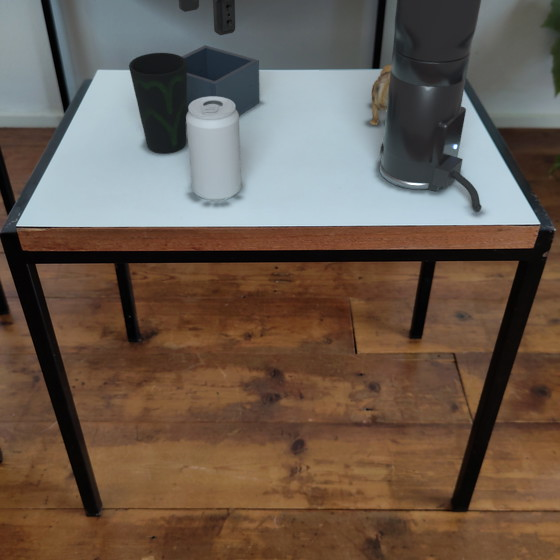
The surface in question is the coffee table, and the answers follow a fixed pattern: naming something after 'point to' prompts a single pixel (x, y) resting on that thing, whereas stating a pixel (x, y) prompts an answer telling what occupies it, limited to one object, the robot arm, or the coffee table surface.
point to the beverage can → (214, 148)
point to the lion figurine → (380, 93)
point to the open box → (222, 77)
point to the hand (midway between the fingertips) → (206, 21)
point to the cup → (161, 99)
